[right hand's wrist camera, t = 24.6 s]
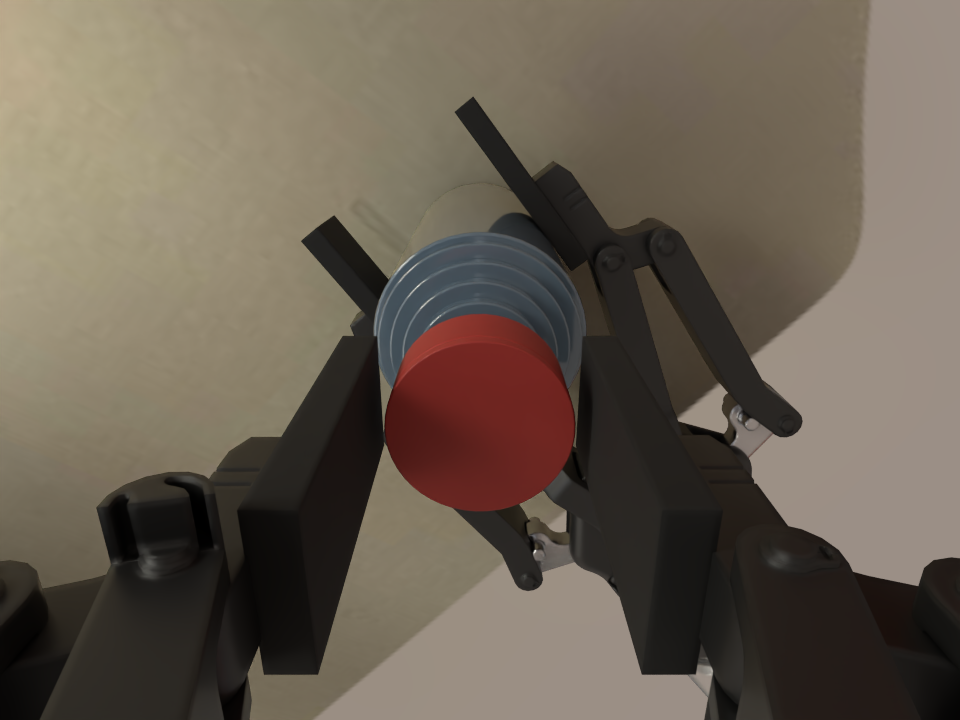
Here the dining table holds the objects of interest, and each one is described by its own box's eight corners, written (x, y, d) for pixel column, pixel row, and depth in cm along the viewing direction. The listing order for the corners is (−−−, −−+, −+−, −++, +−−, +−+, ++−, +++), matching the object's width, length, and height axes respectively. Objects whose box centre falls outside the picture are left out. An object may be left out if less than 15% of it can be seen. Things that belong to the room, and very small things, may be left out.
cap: (556, 470, 15) (565, 515, 13) (395, 463, 15) (384, 508, 13) (572, 316, 14) (585, 345, 12) (395, 308, 14) (383, 337, 12)
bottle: (469, 335, 31) (459, 574, 15) (388, 239, 29) (278, 392, 13) (570, 260, 29) (676, 434, 14) (491, 154, 28) (506, 212, 12)
